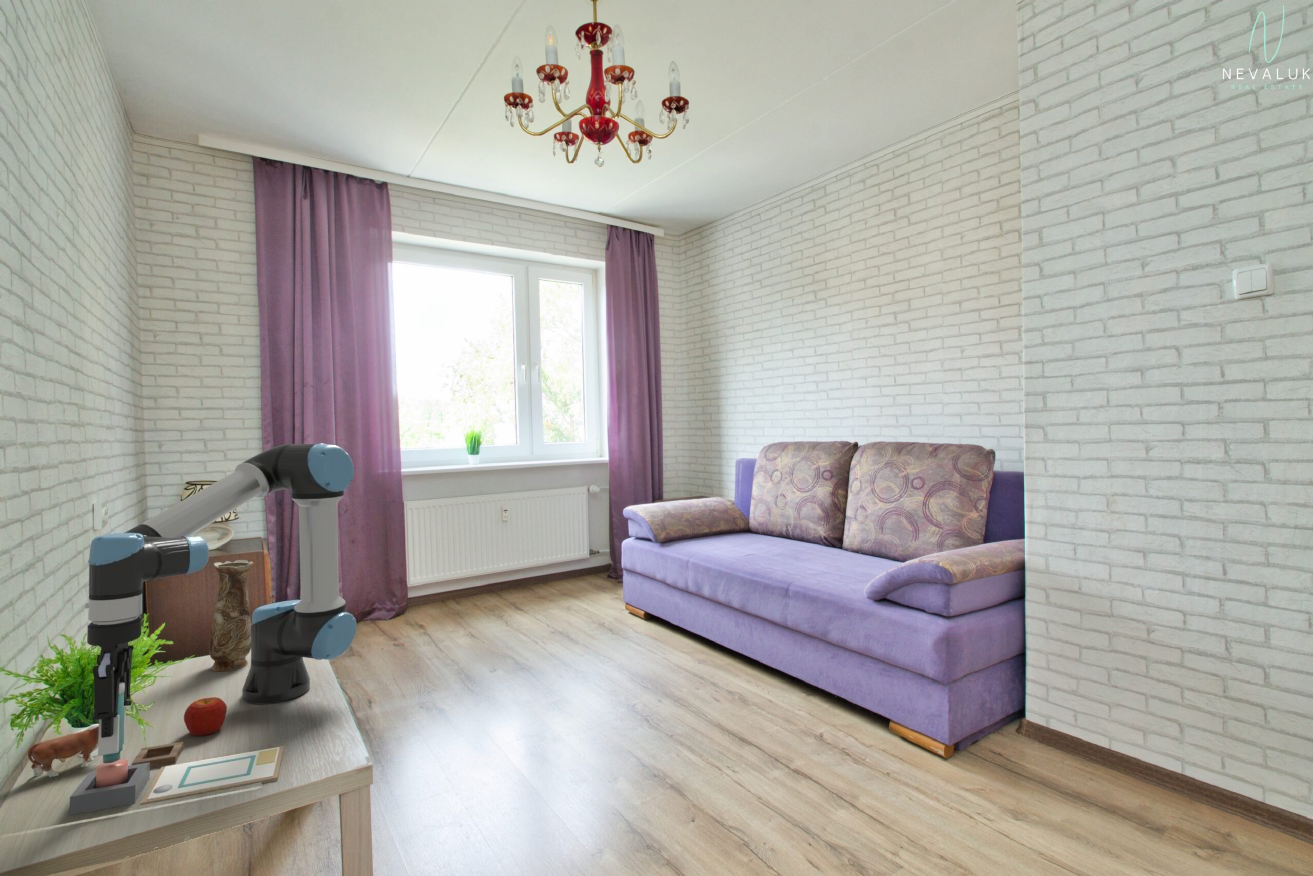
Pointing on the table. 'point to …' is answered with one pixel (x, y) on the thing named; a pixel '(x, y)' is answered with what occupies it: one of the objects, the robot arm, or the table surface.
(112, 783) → the button
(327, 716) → the table surface
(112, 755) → the marker
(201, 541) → the robot arm
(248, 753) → the colouring sheet
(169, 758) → the marker holder
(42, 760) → the bull figurine
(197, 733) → the apple
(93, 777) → the button housing
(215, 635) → the vase
